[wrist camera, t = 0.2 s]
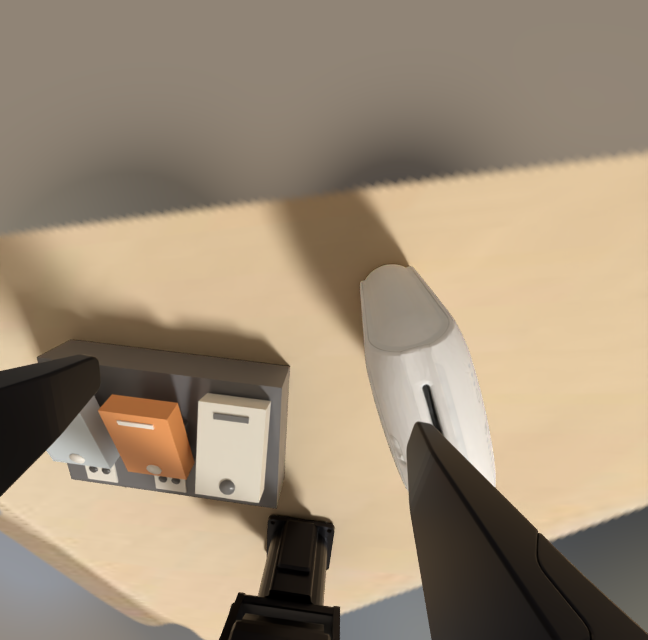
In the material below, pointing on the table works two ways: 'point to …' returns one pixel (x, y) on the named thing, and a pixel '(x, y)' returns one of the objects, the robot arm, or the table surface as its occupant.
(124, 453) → the orange box with knob
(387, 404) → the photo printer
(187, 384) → the power strip
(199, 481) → the ivory rocker
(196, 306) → the table surface
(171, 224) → the table surface
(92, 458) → the grey-blue rocker
